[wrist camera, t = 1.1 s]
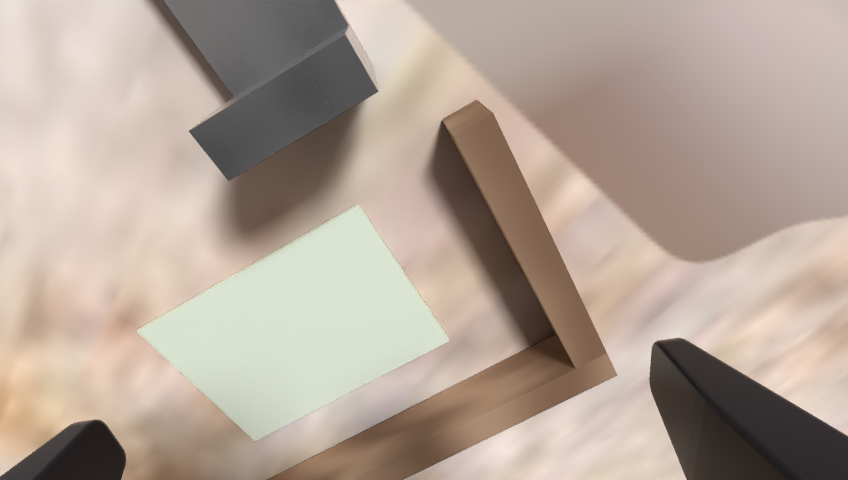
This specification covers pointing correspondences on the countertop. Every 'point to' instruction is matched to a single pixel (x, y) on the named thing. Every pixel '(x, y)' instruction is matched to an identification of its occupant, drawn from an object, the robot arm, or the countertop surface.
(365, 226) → the mat
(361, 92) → the bracket
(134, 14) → the countertop surface
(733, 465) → the robot arm
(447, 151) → the countertop surface
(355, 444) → the brown chevron piece
